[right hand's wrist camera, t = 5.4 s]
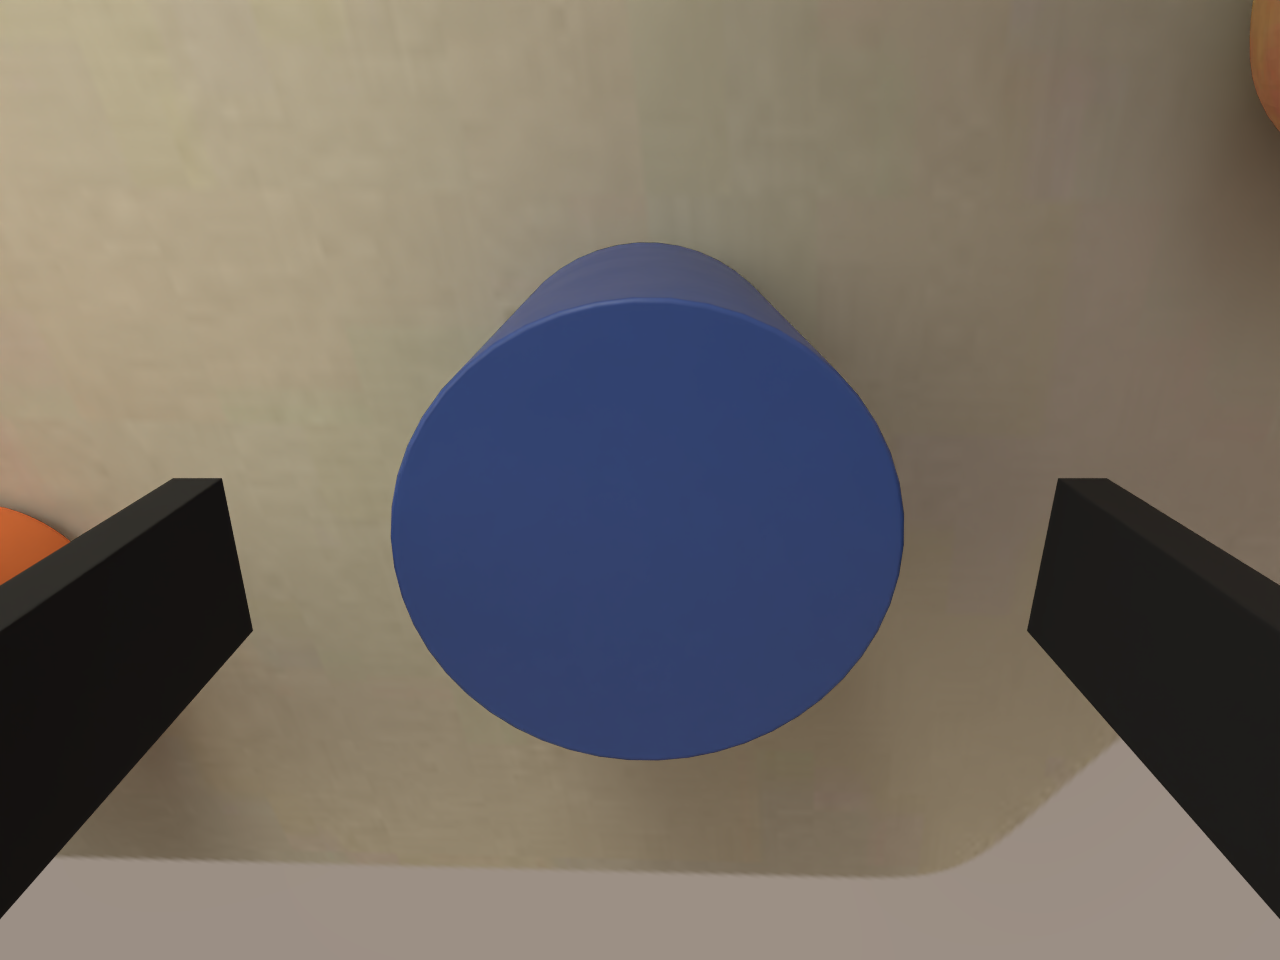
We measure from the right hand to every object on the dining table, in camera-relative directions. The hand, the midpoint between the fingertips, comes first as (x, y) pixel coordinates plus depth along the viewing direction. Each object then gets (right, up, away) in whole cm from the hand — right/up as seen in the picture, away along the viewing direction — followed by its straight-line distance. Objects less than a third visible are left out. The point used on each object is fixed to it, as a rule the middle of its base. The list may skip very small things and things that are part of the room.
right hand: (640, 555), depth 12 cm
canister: (0, +3, +8) cm, 8 cm away
